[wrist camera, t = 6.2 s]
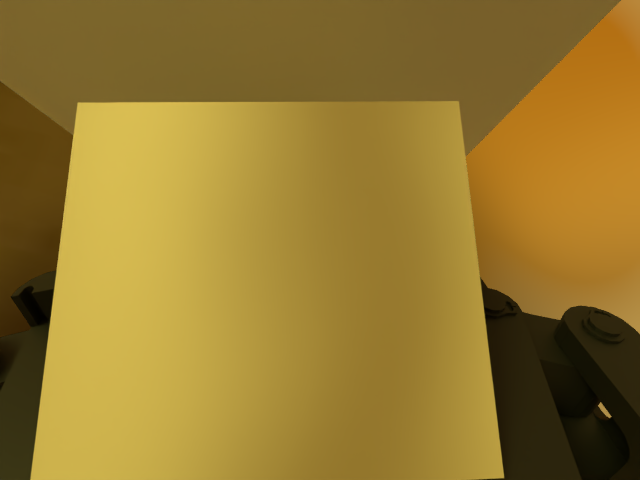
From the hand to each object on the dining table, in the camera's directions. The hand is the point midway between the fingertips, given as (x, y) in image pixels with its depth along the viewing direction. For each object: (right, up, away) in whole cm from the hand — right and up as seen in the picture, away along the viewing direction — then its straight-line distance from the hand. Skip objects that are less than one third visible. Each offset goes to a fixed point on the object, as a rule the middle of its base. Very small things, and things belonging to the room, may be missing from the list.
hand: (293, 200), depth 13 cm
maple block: (0, -4, +3) cm, 5 cm away
